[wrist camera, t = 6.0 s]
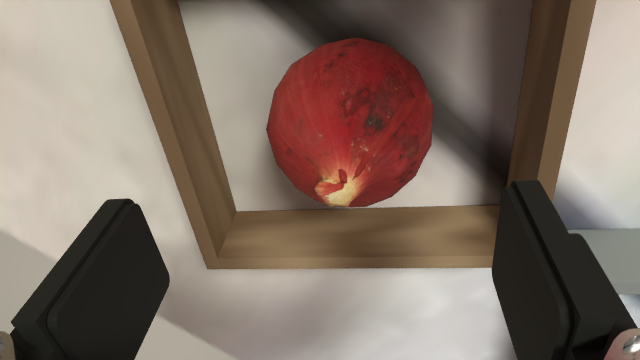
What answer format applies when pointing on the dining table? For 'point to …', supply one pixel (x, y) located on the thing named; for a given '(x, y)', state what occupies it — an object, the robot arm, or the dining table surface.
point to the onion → (351, 123)
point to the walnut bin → (346, 224)
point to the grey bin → (617, 256)
